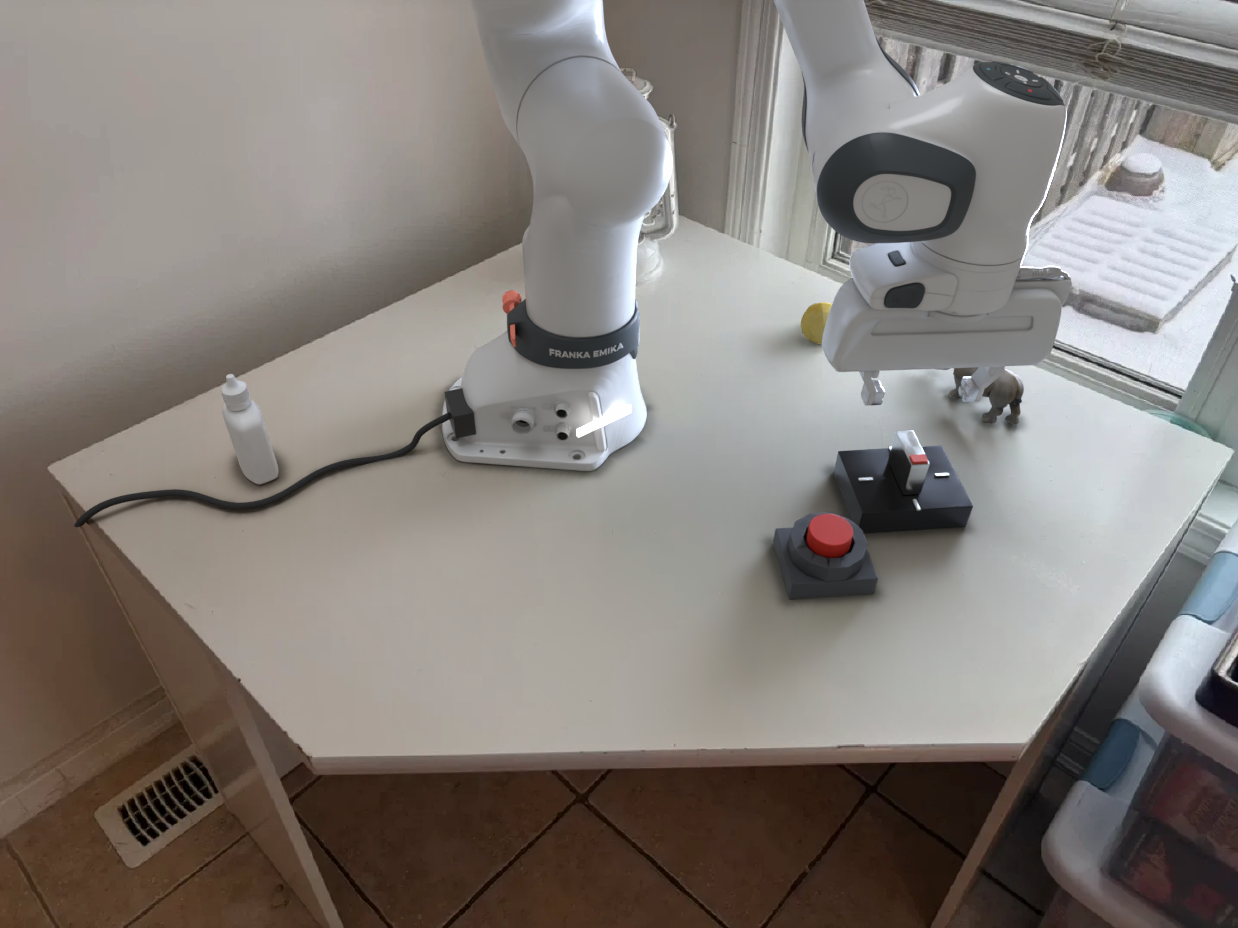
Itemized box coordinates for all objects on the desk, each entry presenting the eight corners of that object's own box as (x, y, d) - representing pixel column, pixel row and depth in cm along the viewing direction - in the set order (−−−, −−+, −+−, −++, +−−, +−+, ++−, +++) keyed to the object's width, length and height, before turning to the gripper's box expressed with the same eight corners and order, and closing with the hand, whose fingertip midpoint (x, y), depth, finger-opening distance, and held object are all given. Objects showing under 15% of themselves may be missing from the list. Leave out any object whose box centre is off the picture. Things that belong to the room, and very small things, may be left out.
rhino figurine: (933, 358, 117) (945, 316, 113) (1025, 421, 108) (1041, 378, 104) (908, 369, 115) (920, 327, 111) (999, 434, 107) (1015, 391, 103)
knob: (841, 346, 118) (848, 311, 115) (799, 345, 118) (805, 311, 115) (836, 324, 122) (842, 290, 118) (794, 323, 122) (800, 289, 118)
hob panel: (857, 535, 95) (863, 512, 93) (833, 471, 102) (838, 448, 100) (966, 528, 96) (974, 505, 94) (934, 465, 103) (942, 443, 101)
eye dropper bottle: (285, 449, 103) (258, 357, 95) (277, 485, 99) (248, 392, 91) (242, 451, 103) (212, 359, 95) (233, 488, 99) (200, 395, 91)
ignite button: (812, 559, 88) (814, 546, 87) (801, 528, 91) (804, 514, 90) (855, 557, 88) (858, 544, 87) (843, 525, 91) (846, 512, 90)
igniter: (788, 600, 89) (794, 571, 86) (772, 543, 94) (777, 514, 91) (874, 594, 90) (882, 565, 87) (853, 538, 95) (860, 509, 92)
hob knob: (887, 461, 99) (896, 429, 96) (904, 459, 99) (913, 428, 96) (902, 495, 95) (912, 463, 92) (920, 494, 95) (930, 462, 92)
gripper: (1061, 247, 84) (1012, 375, 94) (833, 252, 82) (805, 382, 92) (1095, 286, 80) (1040, 416, 89) (854, 292, 78) (823, 425, 87)
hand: (919, 399), depth 90 cm, fingers open, 8 cm apart
